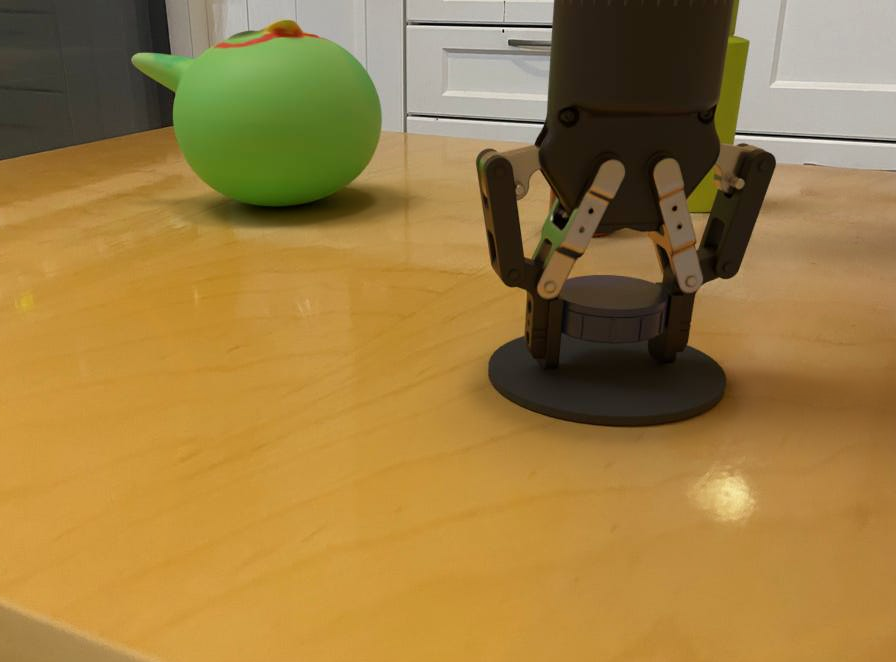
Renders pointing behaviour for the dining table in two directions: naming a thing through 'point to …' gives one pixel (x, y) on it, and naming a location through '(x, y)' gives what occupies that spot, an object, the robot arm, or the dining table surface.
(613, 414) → the coaster
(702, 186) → the soap dispenser
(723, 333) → the dining table surface
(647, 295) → the lid
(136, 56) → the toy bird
